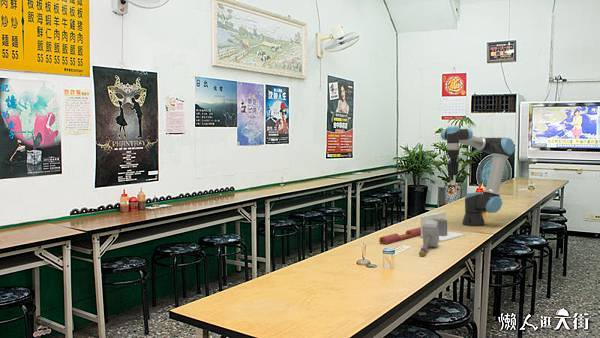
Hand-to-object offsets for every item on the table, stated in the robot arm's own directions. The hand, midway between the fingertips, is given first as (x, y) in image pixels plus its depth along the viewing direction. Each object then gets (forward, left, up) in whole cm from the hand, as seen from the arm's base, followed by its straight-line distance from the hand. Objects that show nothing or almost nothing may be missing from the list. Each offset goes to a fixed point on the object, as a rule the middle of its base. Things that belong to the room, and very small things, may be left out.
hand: (453, 184), depth 345 cm
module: (+11, +10, -32) cm, 35 cm away
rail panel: (+10, +11, -32) cm, 36 cm away
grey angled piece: (+30, +48, -33) cm, 65 cm away
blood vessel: (+37, +14, -33) cm, 52 cm away
